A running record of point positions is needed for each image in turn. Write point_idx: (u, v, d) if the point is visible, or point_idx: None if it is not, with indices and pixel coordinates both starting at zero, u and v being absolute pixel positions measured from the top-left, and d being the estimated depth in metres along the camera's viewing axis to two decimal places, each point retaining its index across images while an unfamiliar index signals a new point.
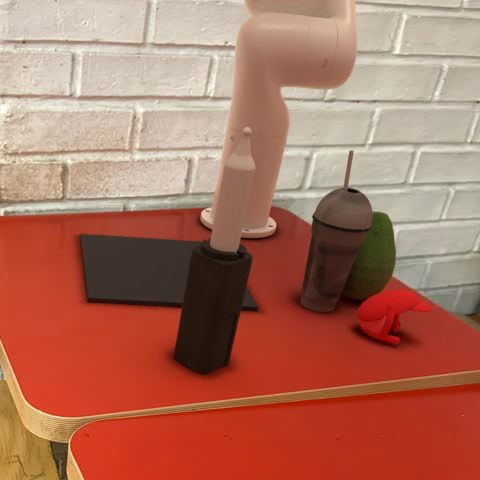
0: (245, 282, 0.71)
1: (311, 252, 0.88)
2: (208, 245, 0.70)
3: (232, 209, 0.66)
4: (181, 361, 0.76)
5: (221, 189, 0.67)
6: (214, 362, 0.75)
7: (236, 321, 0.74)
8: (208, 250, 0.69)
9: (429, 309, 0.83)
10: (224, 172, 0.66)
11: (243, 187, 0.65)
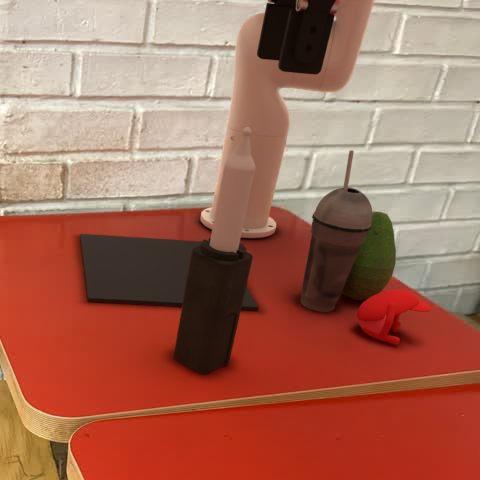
0: (245, 282, 0.71)
1: (311, 252, 0.88)
2: (208, 245, 0.70)
3: (232, 209, 0.66)
4: (181, 361, 0.76)
5: (221, 189, 0.67)
6: (214, 362, 0.75)
7: (236, 321, 0.74)
8: (208, 250, 0.69)
9: (429, 309, 0.83)
10: (224, 172, 0.66)
11: (242, 187, 0.65)
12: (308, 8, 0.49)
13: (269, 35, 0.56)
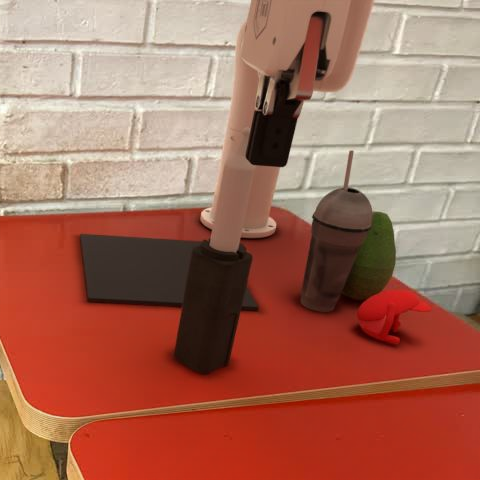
0: (245, 282, 0.71)
1: (311, 252, 0.88)
2: (208, 245, 0.70)
3: (232, 209, 0.66)
4: (181, 361, 0.76)
5: (221, 189, 0.67)
6: (214, 362, 0.75)
7: (236, 321, 0.74)
8: (208, 250, 0.69)
9: (429, 309, 0.83)
10: (224, 172, 0.66)
11: (242, 187, 0.65)
12: (274, 113, 0.55)
13: None
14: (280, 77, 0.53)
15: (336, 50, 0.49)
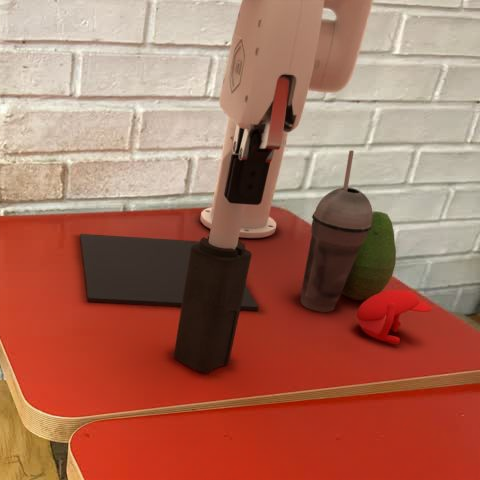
0: (244, 279, 0.71)
1: (311, 252, 0.88)
2: (207, 242, 0.70)
3: (230, 205, 0.67)
4: (181, 360, 0.76)
5: (219, 186, 0.67)
6: (214, 360, 0.75)
7: (236, 319, 0.74)
8: (207, 247, 0.69)
9: (429, 309, 0.83)
10: (222, 169, 0.66)
11: None
12: (248, 158, 0.61)
13: None
14: (253, 128, 0.59)
15: (301, 107, 0.56)
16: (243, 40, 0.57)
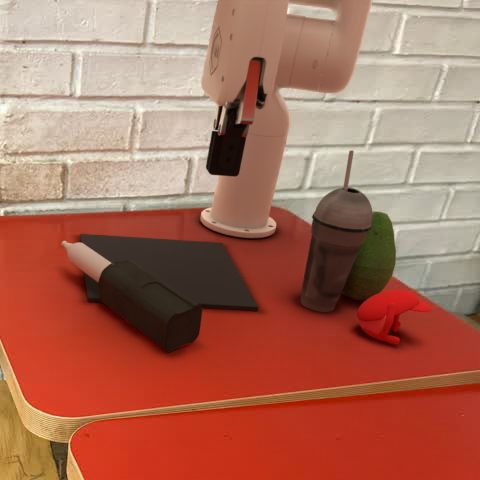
0: (139, 268, 0.83)
1: (311, 252, 0.88)
2: None
3: (86, 260, 0.87)
4: (164, 340, 0.77)
5: (78, 267, 0.89)
6: (173, 308, 0.76)
7: (163, 284, 0.80)
8: (98, 284, 0.85)
9: (429, 309, 0.83)
10: (72, 262, 0.90)
11: (79, 250, 0.89)
12: (226, 134, 0.68)
13: None
14: (230, 106, 0.66)
15: (271, 86, 0.63)
16: (220, 27, 0.64)
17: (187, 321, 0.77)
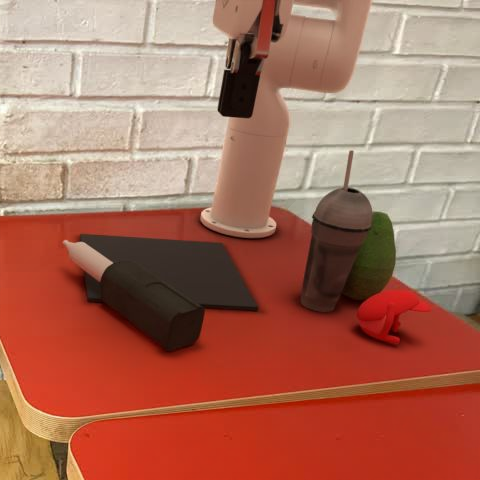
0: (142, 268, 0.83)
1: (311, 252, 0.88)
2: None
3: (88, 259, 0.88)
4: (166, 339, 0.77)
5: (80, 266, 0.89)
6: (177, 308, 0.76)
7: (166, 285, 0.80)
8: (100, 282, 0.85)
9: (429, 309, 0.83)
10: (73, 261, 0.90)
11: (81, 248, 0.89)
12: (239, 71, 0.65)
13: None
14: (243, 40, 0.63)
15: (288, 16, 0.60)
16: None
17: (189, 321, 0.77)
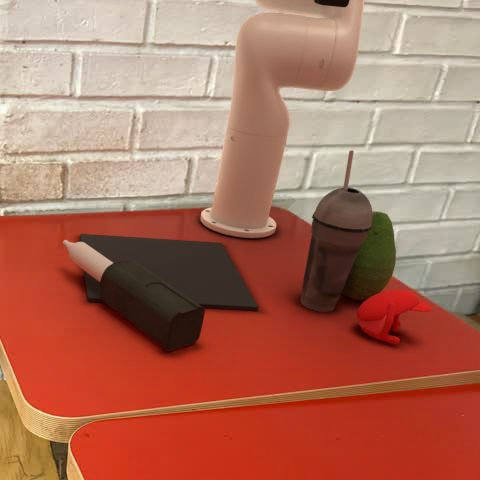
0: (142, 268, 0.83)
1: (311, 252, 0.88)
2: None
3: (88, 259, 0.88)
4: (166, 339, 0.77)
5: (80, 266, 0.89)
6: (177, 308, 0.76)
7: (166, 285, 0.80)
8: (100, 282, 0.85)
9: (429, 309, 0.83)
10: (73, 261, 0.90)
11: (81, 248, 0.89)
12: None
13: None
14: None
15: None
16: None
17: (189, 321, 0.77)
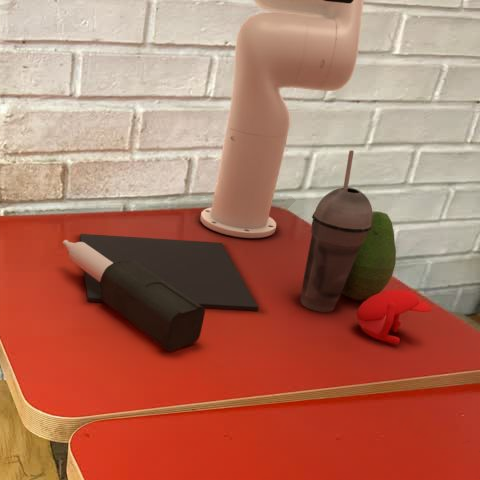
0: (142, 268, 0.83)
1: (311, 252, 0.88)
2: None
3: (88, 259, 0.88)
4: (166, 339, 0.77)
5: (80, 266, 0.89)
6: (177, 308, 0.76)
7: (166, 285, 0.80)
8: (100, 282, 0.85)
9: (429, 309, 0.83)
10: (73, 261, 0.90)
11: (81, 248, 0.89)
12: None
13: None
14: None
15: None
16: None
17: (189, 321, 0.77)
